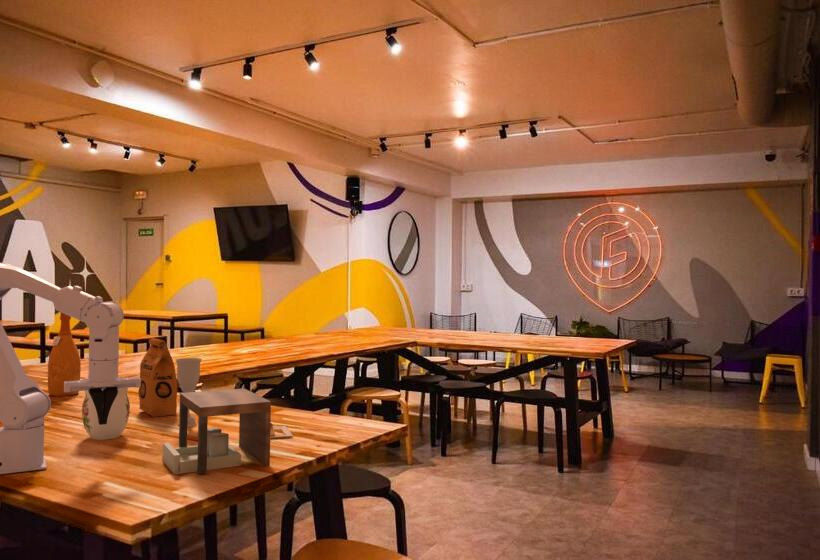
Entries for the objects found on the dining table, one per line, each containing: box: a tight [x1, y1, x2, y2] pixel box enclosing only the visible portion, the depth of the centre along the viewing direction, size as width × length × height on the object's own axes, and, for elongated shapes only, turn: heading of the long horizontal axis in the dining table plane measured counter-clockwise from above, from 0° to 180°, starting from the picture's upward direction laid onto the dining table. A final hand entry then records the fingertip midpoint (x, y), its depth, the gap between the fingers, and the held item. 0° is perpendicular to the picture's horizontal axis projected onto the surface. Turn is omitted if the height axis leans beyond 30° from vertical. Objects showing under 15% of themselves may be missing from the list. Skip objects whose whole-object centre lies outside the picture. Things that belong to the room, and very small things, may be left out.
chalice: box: [175, 357, 202, 428], centre depth 178 cm, size 7×7×18 cm
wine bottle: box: [47, 312, 82, 397], centre depth 220 cm, size 10×10×30 cm
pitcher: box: [81, 385, 131, 441], centre depth 164 cm, size 11×18×14 cm, turn 34°
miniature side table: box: [178, 387, 272, 477], centre depth 144 cm, size 15×19×14 cm
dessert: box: [270, 422, 294, 440], centre depth 169 cm, size 12×12×5 cm
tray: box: [161, 427, 242, 475], centre depth 142 cm, size 14×12×6 cm
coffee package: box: [137, 337, 178, 418], centre depth 193 cm, size 10×12×22 cm
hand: (102, 423), depth 137 cm, fingers closed
